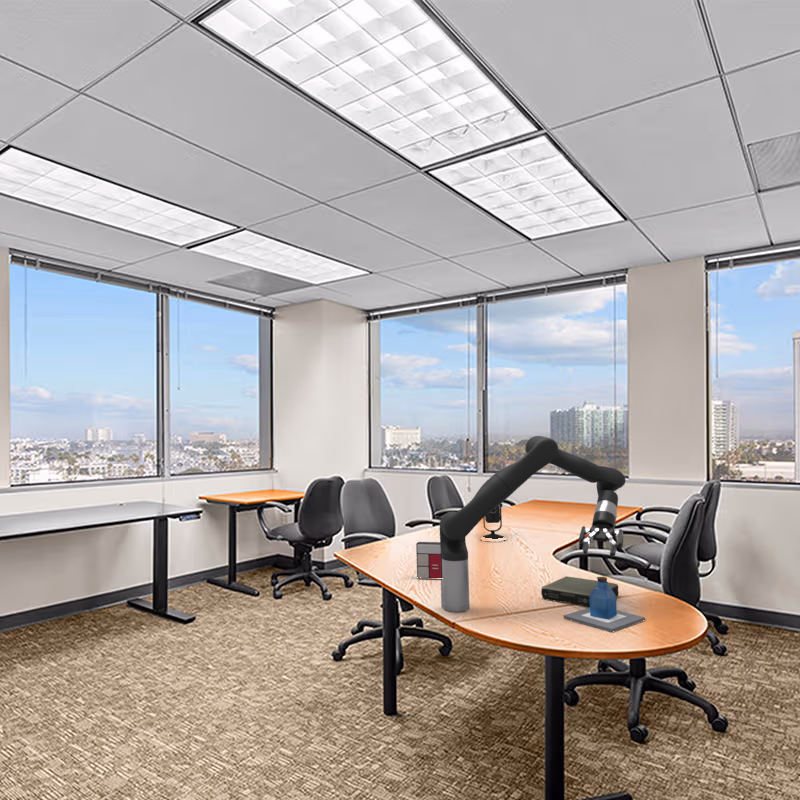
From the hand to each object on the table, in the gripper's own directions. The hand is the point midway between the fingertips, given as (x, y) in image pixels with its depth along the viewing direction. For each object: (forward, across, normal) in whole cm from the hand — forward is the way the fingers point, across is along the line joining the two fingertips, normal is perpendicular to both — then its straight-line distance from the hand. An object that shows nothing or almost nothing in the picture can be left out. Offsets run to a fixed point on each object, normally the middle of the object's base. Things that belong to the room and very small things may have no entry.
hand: (598, 554), depth 201 cm
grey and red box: (+2, -73, +27) cm, 78 cm away
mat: (+19, +3, +8) cm, 21 cm away
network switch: (+3, -10, +25) cm, 27 cm away
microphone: (-68, -84, +95) cm, 144 cm away
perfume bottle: (+18, +3, +8) cm, 20 cm away
